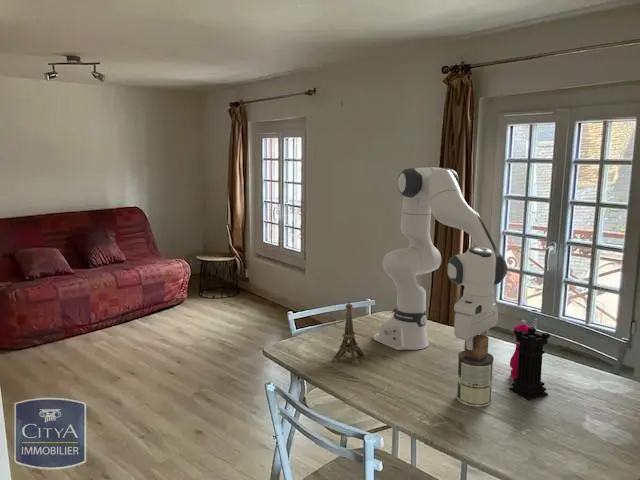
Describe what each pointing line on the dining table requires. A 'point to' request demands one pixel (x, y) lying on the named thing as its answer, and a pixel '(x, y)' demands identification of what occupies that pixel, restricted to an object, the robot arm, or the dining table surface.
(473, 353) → the walnut block
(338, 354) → the eiffel tower
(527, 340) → the chess piece
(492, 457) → the dining table surface
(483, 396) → the coffee can
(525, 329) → the pepper mill
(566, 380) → the dining table surface
